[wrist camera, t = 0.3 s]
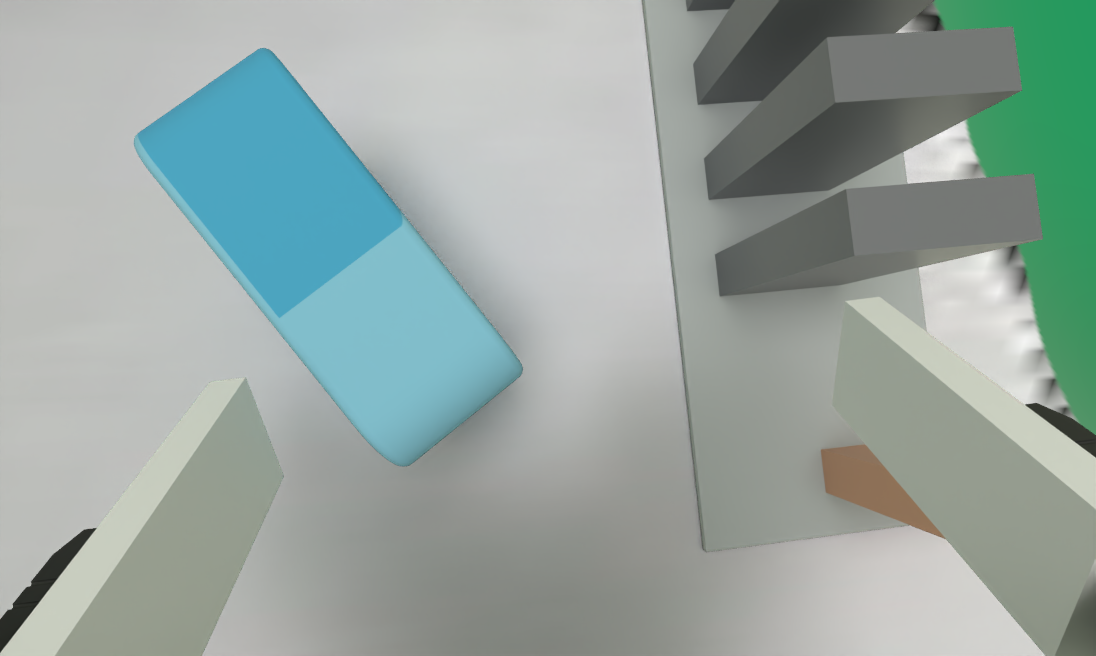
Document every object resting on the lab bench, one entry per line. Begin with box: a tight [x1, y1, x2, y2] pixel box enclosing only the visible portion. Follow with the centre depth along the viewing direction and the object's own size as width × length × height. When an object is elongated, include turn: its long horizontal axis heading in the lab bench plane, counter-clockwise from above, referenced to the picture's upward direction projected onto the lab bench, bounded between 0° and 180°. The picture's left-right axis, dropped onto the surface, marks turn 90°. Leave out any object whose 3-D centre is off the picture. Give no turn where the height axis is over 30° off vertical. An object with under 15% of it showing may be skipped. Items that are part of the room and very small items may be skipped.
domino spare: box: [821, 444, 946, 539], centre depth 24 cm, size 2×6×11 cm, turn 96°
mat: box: [642, 0, 927, 552], centre depth 30 cm, size 30×12×1 cm, turn 6°
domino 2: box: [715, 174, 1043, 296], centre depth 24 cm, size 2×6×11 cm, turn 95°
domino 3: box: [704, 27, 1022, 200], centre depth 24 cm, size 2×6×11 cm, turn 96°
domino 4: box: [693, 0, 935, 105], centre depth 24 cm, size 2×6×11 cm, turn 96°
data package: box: [134, 48, 523, 466], centre depth 22 cm, size 12×4×12 cm, turn 39°
